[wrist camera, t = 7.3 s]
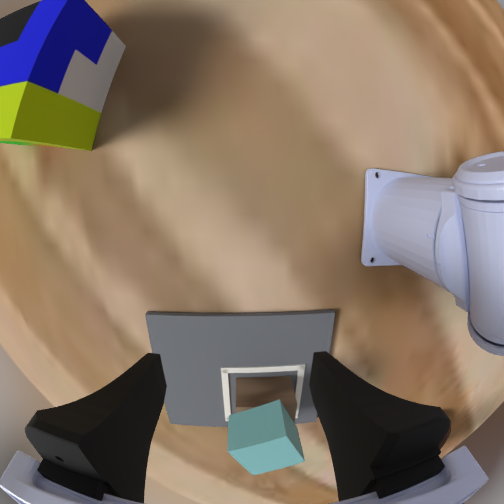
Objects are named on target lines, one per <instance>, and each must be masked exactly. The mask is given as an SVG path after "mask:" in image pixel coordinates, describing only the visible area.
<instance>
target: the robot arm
mask: <svg viewBox="0 0 504 504" xmlns="http://www.w3.org/2000/svg"><path fill="white" fill-rule="evenodd" d="M376 172H377V173H378V175H379V176H378V178H376V177H375V173H376ZM371 258H374V260H373V261H372V262H370V260H371ZM361 262H362V264H363V265H365V266H388V265H403V266H405V267H407V268H409V269H410V270H412V271H414V272H416V273H418V274H419V275H421V276H423V277H425V278H426V279H428V280H430V281H432V282H433V283H435V284H437V285H439V286H440V287H442V288H444V289H445V290H447V291H449V292H451V293H452V294H453V295H454V297H455V300H456V305H457V306H459V307H460V308H462V309H464V310H465V311H467V312H468V330H469V333H470V335H471V337H472V339H473V340H474V341H475V343H476V344H477V345H478V346H480V347H481V348H482V349H484V350H486V351H488V352H490V353H493V354H495V355H501V356H504V151H501V152H495V153H490V154H486V155H482V156H479V157H475V158H473V159H470V160H468V161H466V162H464V163H462V164H461V165H460V166H459V168H458V170H457V172H456V173H455V174H454V176H453V178H435V177H429V176H423V175H417V174H411V173H404V172H397V171H390V170H382V169H373V168H371V169H368V170H367V171H366V173H365V209H364V228H363V242H362V254H361ZM309 386H310V391H311V396H312V400H313V403H314V406H315V409H316V411H317V414H318V416H319V419H320V422H321V424H322V427H323V429H324V432H325V435H326V438H327V441H328V444H329V449H330V453H331V457H332V462H333V467H334V472H335V477H336V483H337V490H338V498H339V502H335V503H330V504H463V503H464V502H465V501H466V500H467V499H469V498H470V497H471V496H472V495H473V494H474V493H475V492H476V491H477V490H478V489H480V488H481V487H482V486H483V485H484V484H485V483H486V482H487V481H488V477H487V476H486V474H485V473H484V472H483V470H482V469H481V467H480V466H479V464H478V463H477V461H476V460H475V459H474V457H473V456H472V455H471V453H470V452H469V450H468V449H467V448H466V446H462V447H461V448H459V449H457V450H455V451H453V452H452V453H450V454H448V455H446V456H445V457H444V458H442V459H440V457H439V456H438V455H439V454H440V453H441V451H440V449H439V448H438V445H439V444H440V443H441V441H442V440H443V438H444V437H445V435H446V434H447V432H448V430H449V428H450V424H451V422H450V419H449V418H448V416H447V415H446V414H445V413H444V411H443V410H442V409H441V408H440V407H435V406H429V405H423V404H418V403H415V402H411V401H407V400H404V399H401V398H399V397H396V396H393V395H391V394H389V393H386V392H384V391H382V390H380V389H378V388H376V387H374V386H373V385H371V384H369V383H368V382H366V381H364V380H363V379H361V378H360V377H358V376H357V375H356V374H354V373H353V372H351V371H350V370H349V369H347V368H346V367H345V366H344V365H342V364H341V363H340V362H339V361H338V360H336V359H335V358H334V357H333V356H331V355H330V354H329V353H328V352H327V351H322V352H314V354H313V361H312V368H311V375H310V382H309ZM166 388H167V384H166V380H165V375H164V371H163V366H162V361H161V356H160V354H155V353H147V354H146V355H145V356H144V357H142V358H141V359H140V360H139V361H138V362H137V363H135V364H134V365H133V366H132V367H131V368H129V369H128V370H127V371H126V372H124V373H123V374H122V375H120V376H119V377H118V378H116V379H115V380H114V381H112V382H111V383H109V384H108V385H106V386H105V387H103V388H102V389H100V390H98V391H96V392H94V393H92V394H91V395H88V396H86V397H84V398H82V399H79V400H77V401H74V402H72V403H69V404H65V405H62V406H58V407H54V408H49V409H45V410H38V411H37V412H36V413H35V415H34V416H33V417H32V419H31V420H30V422H29V423H28V424H27V426H26V427H25V433H26V436H27V438H28V439H29V441H30V442H31V444H32V445H33V446H34V448H35V449H36V450H37V452H38V453H39V454H40V455H41V457H42V458H43V460H42V462H41V463H40V462H39V461H37V460H36V459H34V458H33V457H30V456H29V455H27V454H25V453H23V452H22V451H20V450H18V451H17V452H16V453H15V455H14V457H13V458H12V460H11V462H10V463H9V465H8V467H7V468H6V470H5V472H4V473H3V475H2V477H1V479H0V487H1V488H2V489H3V490H4V491H5V492H6V493H7V494H8V495H10V496H11V497H12V498H13V499H14V500H15V501H17V502H18V503H19V504H144V489H145V478H146V469H147V462H148V456H149V450H150V444H151V441H152V437H153V434H154V431H155V428H156V425H157V422H158V419H159V416H160V413H161V410H162V407H163V404H164V399H165V394H166Z"/></svg>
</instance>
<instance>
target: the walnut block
mask: <svg viewBox="0 0 504 504" xmlns="http://www.w3.org/2000/svg"><path fill="white" fill-rule="evenodd" d="M279 399H280V401H281V402H282V404H283V406H284V407H285V409H286V411H287V412H288V414H289V415H290V417H291V419H292V420H293V422H294V423H295V417H296V410H297V401H296V397H295V393H294V389H293V385H292V381H291V377H290V376H274V377H243V378H236V413H239V412H242V411H245V410H249V409H252V408H255V407H258V406H261V405H264V404H267V403H270V402H273V401H276V400H279Z"/></svg>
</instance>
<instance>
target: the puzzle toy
mask: <svg viewBox="0 0 504 504" xmlns="http://www.w3.org/2000/svg"><path fill="white" fill-rule="evenodd" d="M125 48H126V46H125V44H124V43H123V42H122V41H121V40H120V39H119V38H118V36H117V35H116V34H115V33H114V32H113V31H112V30H111V29H110V28H109V26H108V25H107V24H106V23H105V22H104V21H103V20H102V19H101V18H100V17H99V15H98V14H97V13H96V12H95V11H94V10H93V9H92V8H91V7H90V6H89V5H88V4H87V2H86V1H85V0H42V1H39V2H37V3H34V4H32V5H29V6H27V7H24V8H22V9H20V10H18V11H15V12H13V13H11V14H9V15H7V16H5V17H3V18H1V19H0V143H7V144H18V145H34V146H48V147H60V148H71V149H80V150H89V151H91V150H92V146H93V142H94V138H95V134H96V130H97V127H98V123H99V119H100V116H101V113H102V109H103V106H104V103H105V100H106V97H107V94H108V91H109V88H110V85H111V83H112V80H113V77H114V74H115V72H116V69H117V67H118V64H119V62H120V59H121V57H122V55H123V52H124V50H125Z"/></svg>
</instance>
